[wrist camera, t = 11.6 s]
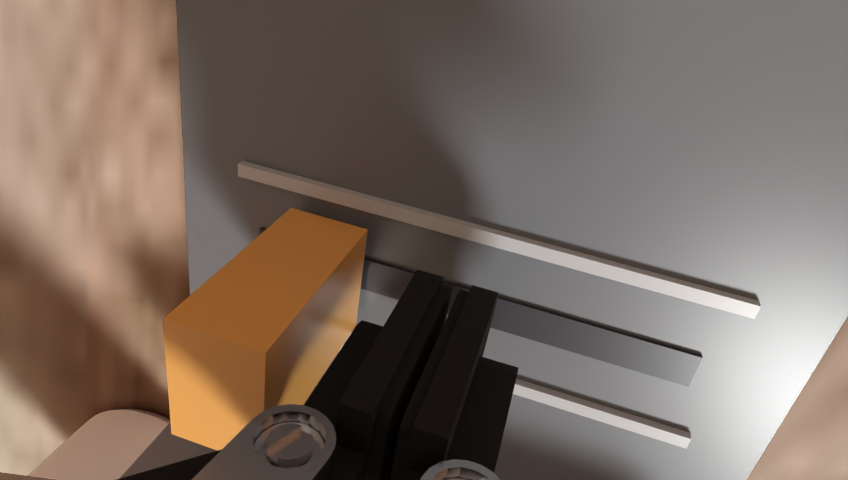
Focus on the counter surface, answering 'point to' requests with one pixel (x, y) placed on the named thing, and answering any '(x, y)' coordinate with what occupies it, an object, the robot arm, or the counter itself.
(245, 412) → the block
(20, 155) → the counter surface
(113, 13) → the counter surface
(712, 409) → the console
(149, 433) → the can
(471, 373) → the robot arm
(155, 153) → the counter surface
